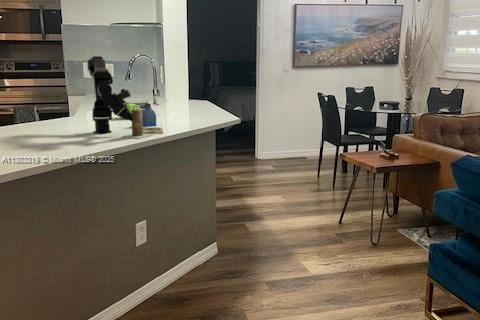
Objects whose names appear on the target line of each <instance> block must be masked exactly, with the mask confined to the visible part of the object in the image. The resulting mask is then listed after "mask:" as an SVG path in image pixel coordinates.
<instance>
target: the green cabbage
mask: <svg viewBox="0 0 480 320" xmlns="http://www.w3.org/2000/svg"><path fill="white" fill-rule="evenodd" d="M126 103H127V109H128V110H129V111H130V113H131V110H141V109H140V105H137V104H136V103H131V102H130V101H126ZM126 103H125V104H126ZM131 114H132V113H131ZM120 118H121V120H122V119H123V120H124V119H125V118H122V117H120ZM125 120H126V119H125Z"/></svg>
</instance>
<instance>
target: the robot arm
mask: <svg viewBox="0 0 480 320" xmlns="http://www.w3.org/2000/svg"><path fill="white" fill-rule="evenodd" d="M86 63H87V64H86V65H87V71H88V72H89V76H90V77H92V80H93V86H94V87H93V88H94V95H95V101H94V103H93V108H92V117H91V118H92V121H93V122H94V126H95V130H94V131H93V133H95V134H101V135H102V134H108V133H111V132H112V130H111V128H110V121H112V120H113V117H112V116H113V114H114V115H115V116H117V117H120V118H125V120H127V121H129V122H132V121H133V120H134V119H133V118H132V114H131V113H130V111H129V110H128V109H127V103H126V102H127V101H126V100H125V99H127V98H130V97H131V95H132V94H131V93H130V91H129V89H126V88H122V89H120V92H119V93H116V92H113V89H112V86H111V85H112V84H113V83H114V80H113V75H112V74H111V73H110V71H109V69H108V68H106V60H104V58H103V56H101V55H99V56H96V55H95V56H91V58H90V59H88V60H87V62H86Z"/></svg>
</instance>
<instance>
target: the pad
mask: <svg viewBox="0 0 480 320" xmlns="http://www.w3.org/2000/svg"><path fill="white" fill-rule="evenodd" d="M122 137H123V138H127V139H129V138H131V139H136V140H140V139H145V138H149V137H153V134H143V136H132V133H129V134H126V135H125V134H124V135H122Z"/></svg>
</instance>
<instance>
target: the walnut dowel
mask: <svg viewBox="0 0 480 320" xmlns="http://www.w3.org/2000/svg"><path fill="white" fill-rule="evenodd" d="M142 110H143V109H140V110H131V113H132V118H133V119H134V120H133V121H131V134H132V136H143V131H144V130H143V128H144V126H143V123H142Z"/></svg>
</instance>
